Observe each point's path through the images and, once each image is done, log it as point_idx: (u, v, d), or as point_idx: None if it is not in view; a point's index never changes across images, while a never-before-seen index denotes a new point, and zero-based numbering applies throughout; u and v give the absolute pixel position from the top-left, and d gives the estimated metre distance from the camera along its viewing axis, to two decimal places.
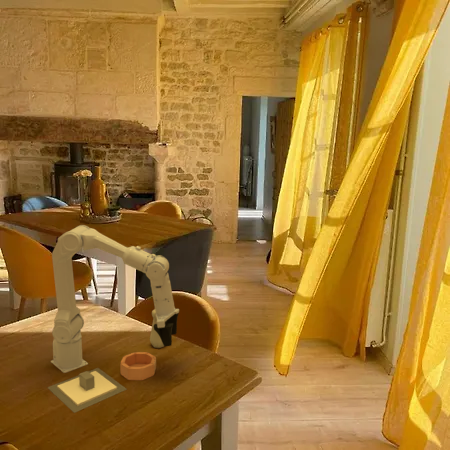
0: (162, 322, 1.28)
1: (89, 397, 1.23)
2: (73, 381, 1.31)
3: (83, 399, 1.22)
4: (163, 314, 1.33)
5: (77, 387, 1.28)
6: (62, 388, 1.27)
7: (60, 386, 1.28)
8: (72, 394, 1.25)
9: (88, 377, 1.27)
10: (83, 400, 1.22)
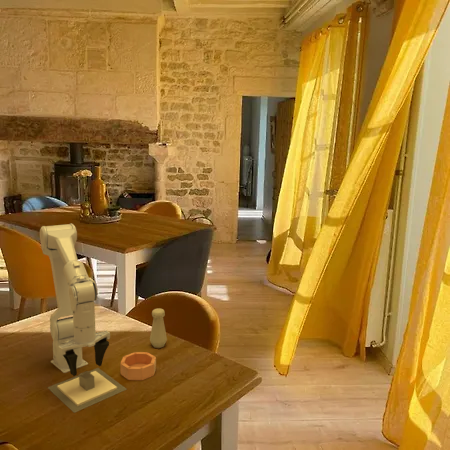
0: (61, 349, 1.20)
1: (89, 397, 1.23)
2: (73, 381, 1.31)
3: (83, 399, 1.22)
4: (75, 341, 1.23)
5: (77, 387, 1.28)
6: (62, 388, 1.27)
7: (60, 386, 1.28)
8: (72, 394, 1.25)
9: (88, 377, 1.27)
10: (83, 400, 1.22)
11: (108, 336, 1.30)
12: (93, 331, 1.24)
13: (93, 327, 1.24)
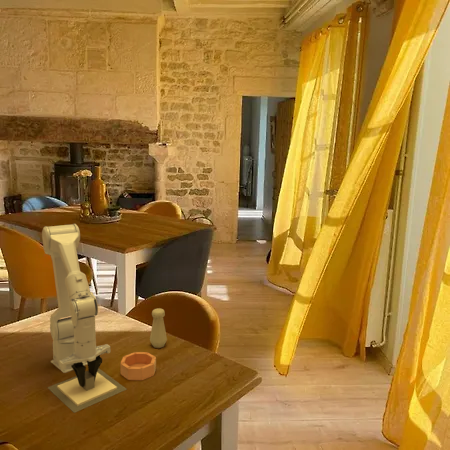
0: (61, 364, 1.21)
1: (89, 397, 1.23)
2: (73, 381, 1.31)
3: (83, 399, 1.22)
4: (76, 356, 1.24)
5: (77, 387, 1.28)
6: (62, 388, 1.27)
7: (60, 386, 1.28)
8: (72, 394, 1.25)
9: (88, 377, 1.27)
10: (83, 400, 1.22)
11: (108, 350, 1.31)
12: (94, 345, 1.25)
13: (94, 342, 1.25)
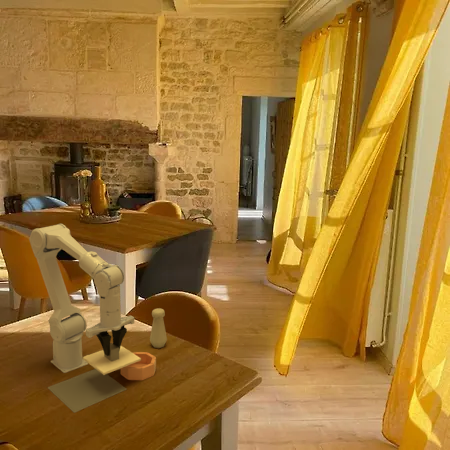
0: (88, 332, 1.24)
1: (114, 367, 1.27)
2: (97, 353, 1.34)
3: (109, 368, 1.26)
4: (101, 325, 1.27)
5: (102, 358, 1.31)
6: (88, 359, 1.31)
7: (86, 357, 1.32)
8: (98, 364, 1.28)
9: (113, 348, 1.30)
10: (109, 369, 1.25)
11: (132, 321, 1.34)
12: (119, 315, 1.28)
13: (119, 311, 1.28)
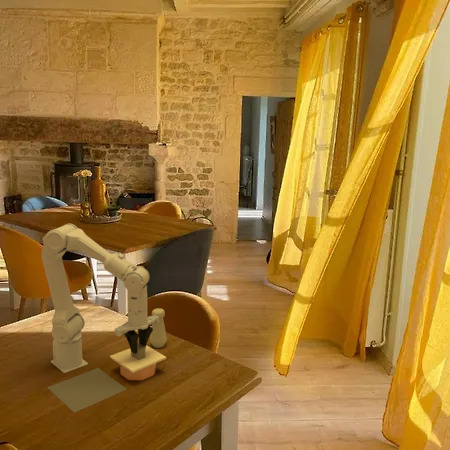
0: (117, 331, 1.30)
1: (142, 365, 1.32)
2: (124, 352, 1.40)
3: (137, 367, 1.31)
4: (129, 324, 1.33)
5: (129, 357, 1.37)
6: (115, 358, 1.36)
7: (113, 356, 1.37)
8: (126, 363, 1.34)
9: (140, 347, 1.36)
10: (137, 367, 1.31)
11: (158, 320, 1.39)
12: (146, 315, 1.34)
13: (146, 311, 1.34)
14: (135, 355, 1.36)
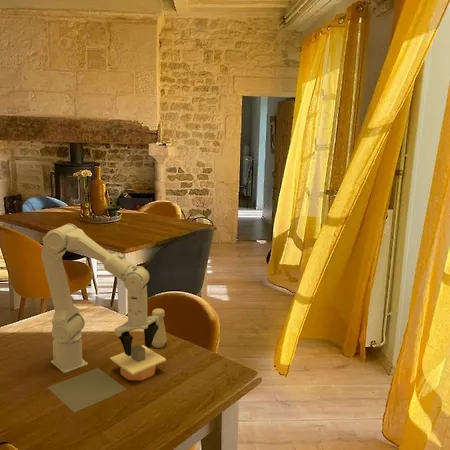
0: (117, 331, 1.30)
1: (142, 367, 1.32)
2: (124, 354, 1.40)
3: (137, 369, 1.32)
4: (129, 324, 1.33)
5: (129, 359, 1.37)
6: (115, 359, 1.36)
7: (113, 358, 1.37)
8: (126, 364, 1.34)
9: (140, 349, 1.36)
10: (137, 370, 1.31)
11: (158, 320, 1.39)
12: (146, 315, 1.34)
13: (146, 311, 1.34)
14: (135, 357, 1.36)
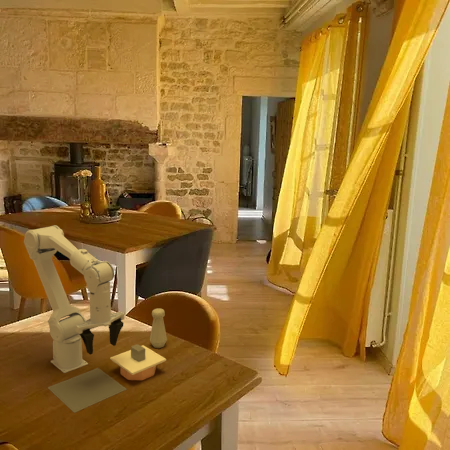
0: (78, 328, 1.25)
1: (142, 367, 1.32)
2: (124, 354, 1.40)
3: (137, 369, 1.32)
4: (91, 321, 1.28)
5: (129, 359, 1.37)
6: (115, 359, 1.36)
7: (113, 358, 1.37)
8: (126, 364, 1.34)
9: (140, 349, 1.36)
10: (137, 370, 1.31)
11: (122, 317, 1.34)
12: (109, 311, 1.29)
13: (109, 307, 1.29)
14: (135, 357, 1.36)
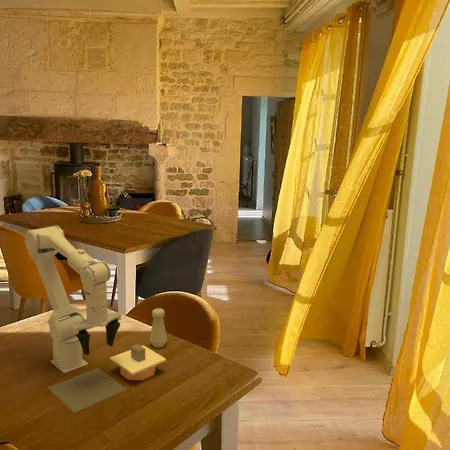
0: (74, 329, 1.24)
1: (142, 367, 1.32)
2: (124, 354, 1.40)
3: (137, 369, 1.32)
4: (88, 321, 1.28)
5: (129, 359, 1.37)
6: (115, 359, 1.36)
7: (113, 358, 1.37)
8: (126, 364, 1.34)
9: (140, 349, 1.36)
10: (137, 370, 1.31)
11: (119, 317, 1.34)
12: (105, 312, 1.28)
13: (105, 308, 1.28)
14: (135, 357, 1.36)
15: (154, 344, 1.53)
